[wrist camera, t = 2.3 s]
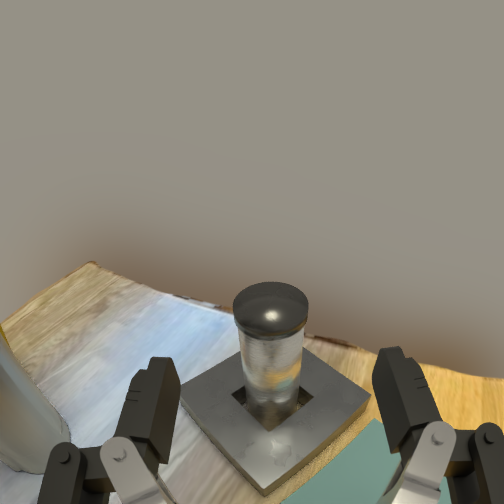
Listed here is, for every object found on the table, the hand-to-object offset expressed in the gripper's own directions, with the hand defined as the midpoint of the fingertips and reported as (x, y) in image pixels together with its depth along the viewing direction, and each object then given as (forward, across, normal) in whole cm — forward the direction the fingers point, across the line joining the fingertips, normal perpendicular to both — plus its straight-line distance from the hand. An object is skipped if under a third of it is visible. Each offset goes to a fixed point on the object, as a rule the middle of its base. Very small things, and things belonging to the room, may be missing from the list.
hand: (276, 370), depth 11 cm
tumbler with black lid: (+10, 0, +20) cm, 22 cm away
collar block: (+10, 0, +20) cm, 22 cm away
